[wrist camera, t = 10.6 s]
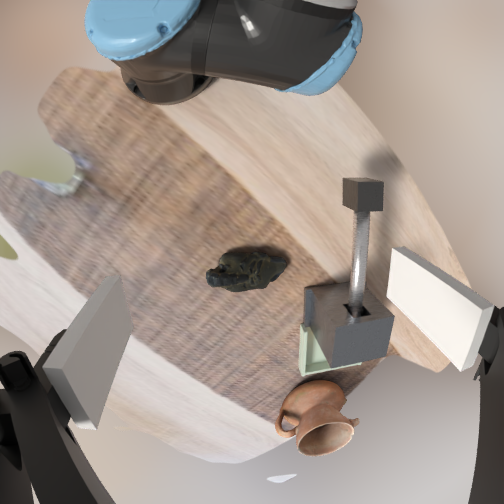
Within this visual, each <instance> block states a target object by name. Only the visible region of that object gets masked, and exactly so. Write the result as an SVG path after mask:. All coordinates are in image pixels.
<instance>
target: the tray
mask: <svg viewBox="0 0 504 504" xmlns="http://www.w3.org/2000/svg"><path fill="white" fill-rule="evenodd" d="M353 365H361V362H360V363H356V364H351V365H346V366H342V367H337V368H332V369H331V368H330V366H329V364H328V362H327V360H326V358H325V356H324V354H323V352H322V350H321V348H320V346H319V344H318V342H317V340H316V338H315V336H314V334H313V332H312V330H311V328H310V327H305V326H304V324H300V348H299V370H300V372H301V375H302V376H305V375H308V374H313V373H319V372H324V371H330V370H335V369H339V368H344V367H349V366H353Z"/></svg>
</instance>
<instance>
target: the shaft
mask: <svg viewBox="0 0 504 504" xmlns="http://www.w3.org/2000/svg"><path fill="white" fill-rule="evenodd" d="M383 190H384V182H382V181H378V180H374V179H370V178H343V205H344V206H346V207H348V208H350V209H352V210H354V222H353V245H352V261H351V275H350V287H349V298H348V308H347V311H348V312H349V313H350V315H351V316H352V317H353V318H358V317H361V313H362V306H363V298H364V289H365V280H366V269H367V258H368V245H369V229H370V211H383Z"/></svg>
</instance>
